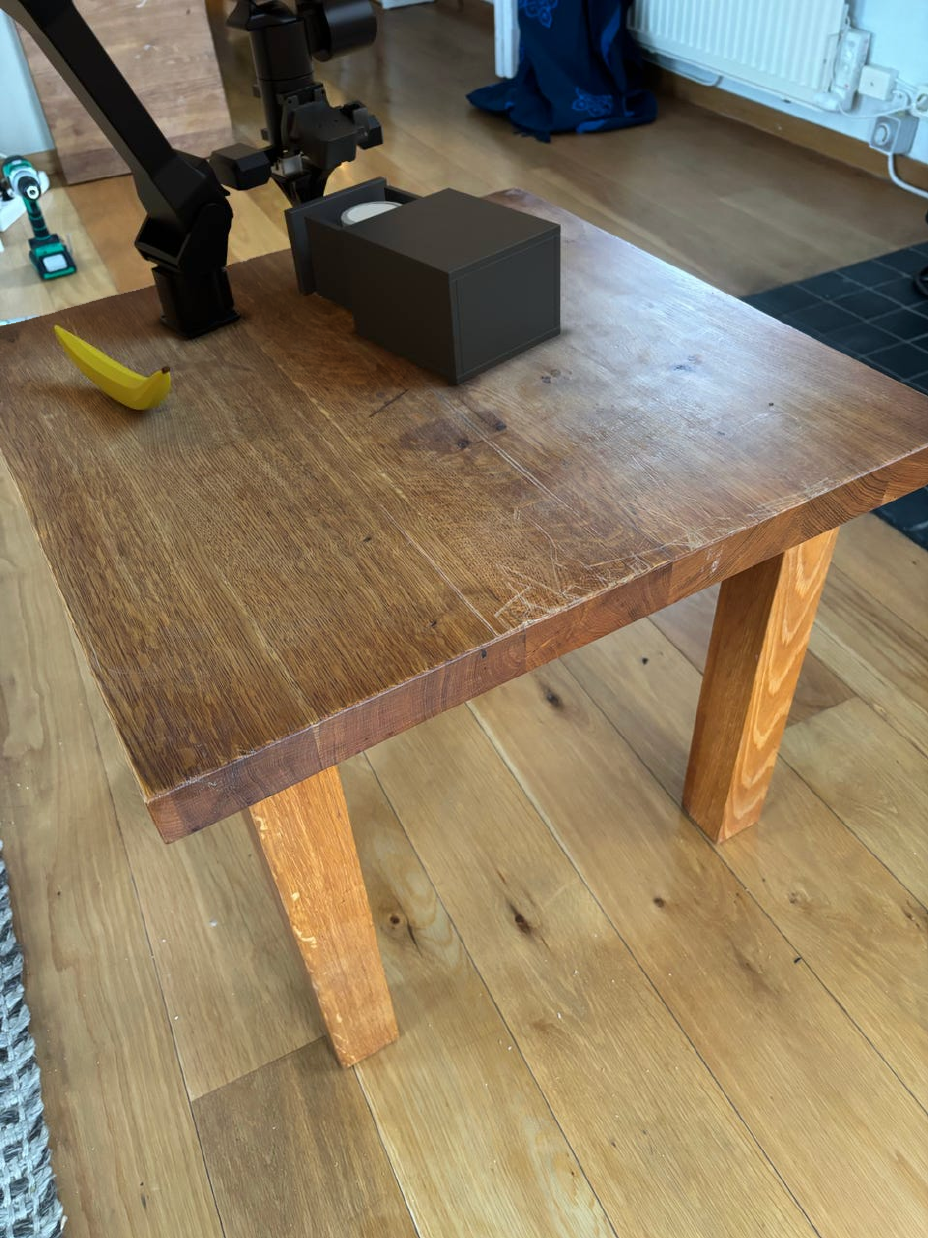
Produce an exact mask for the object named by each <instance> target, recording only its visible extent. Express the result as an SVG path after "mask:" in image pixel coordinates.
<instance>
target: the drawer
mask: <svg viewBox="0 0 928 1238" xmlns="http://www.w3.org/2000/svg"><path fill="white" fill-rule="evenodd" d="M423 197H424V196H423V195H422V196H421V195H418V194H415V193H413V192H410V191H407V190H404V189H401V188H398V187H396V186H393V185H390V184H388V180H387V178H386V177H383V176H380V175H379V176H376V177H374V178H371V179H368V180H365V181H362V182H359V183H356V184H354V185H351V186H348V187H345V188H343V189H339V190H337V191H333V192H331V193H329V194H326V195H325V194H324V195H323V197H320V198H317V199H314V200H311V201H309V202H306V203H303V204H300V205H297V206H294V207H292V206H291V207H289V208H286V209H284V210H283V214H284V219H285V225H286V229H287V235H288V240H289V246H290V250H291V256H292V261H293V266H294V267H293V268H294V272H295V277H296V284H297V289H298V294H299V295H301V296H303V297H308V296H310V295H313V294H316V295H317V296H318V297H321V298H322V299H325V300H326V301H328V302H331V303H333V304H334V305H336V306H339V307H341V308H343V309H345V310H347V311H349V312H351V313H353V312H352V305H351V299H350V292H349V286H348V279H347V273H346V266H345V259H344V253H343V246H342V240H341V233H340V228H343V224H342V220H341V217H342V214H343V213H344V212H345V211H346V210H348V209H349V208H352V207H354V206H357V205H360V204H365V203H370V202H385V201H386V202H395V203H399V204H402V205H404V204H407V203H409V202H412V201H415V200H417V199H420V198H423Z"/></svg>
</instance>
